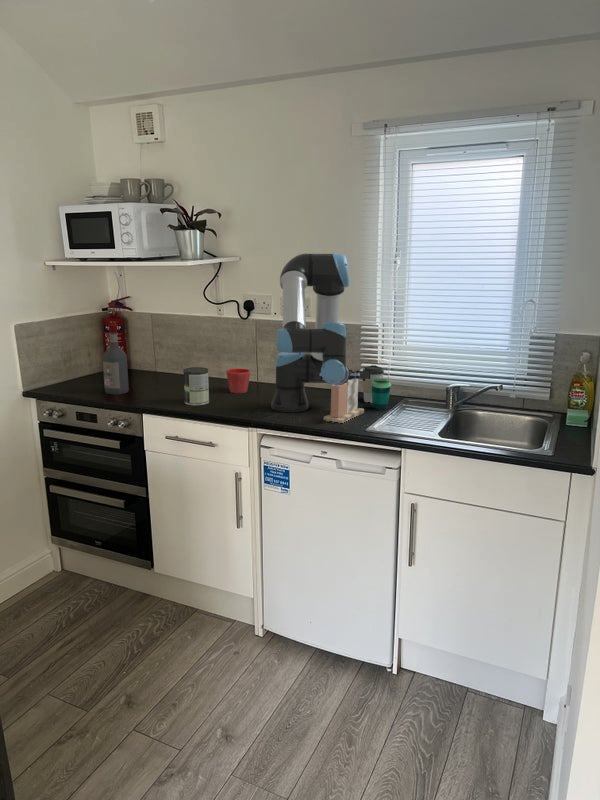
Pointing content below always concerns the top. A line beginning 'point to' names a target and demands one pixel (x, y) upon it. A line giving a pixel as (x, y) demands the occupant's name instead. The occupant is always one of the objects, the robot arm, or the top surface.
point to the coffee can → (196, 386)
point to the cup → (380, 393)
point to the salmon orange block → (338, 400)
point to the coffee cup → (367, 387)
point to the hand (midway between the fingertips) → (344, 376)
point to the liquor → (115, 366)
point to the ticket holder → (349, 404)
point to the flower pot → (238, 380)
